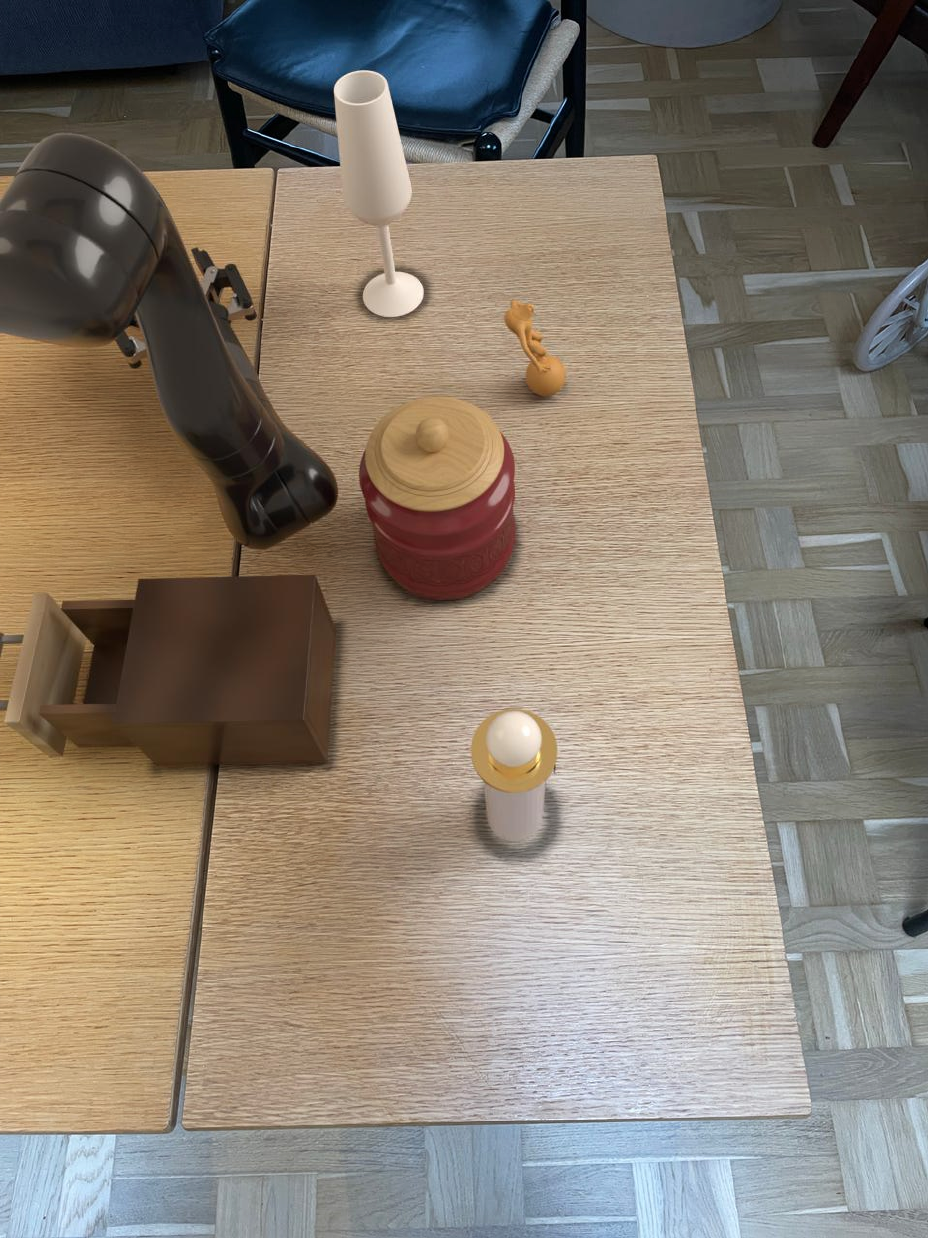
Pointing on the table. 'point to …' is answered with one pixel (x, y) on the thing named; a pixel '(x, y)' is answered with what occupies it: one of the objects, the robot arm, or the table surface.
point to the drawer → (69, 674)
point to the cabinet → (229, 671)
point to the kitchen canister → (440, 497)
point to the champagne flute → (375, 180)
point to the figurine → (535, 351)
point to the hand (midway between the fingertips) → (157, 269)
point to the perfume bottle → (514, 770)
